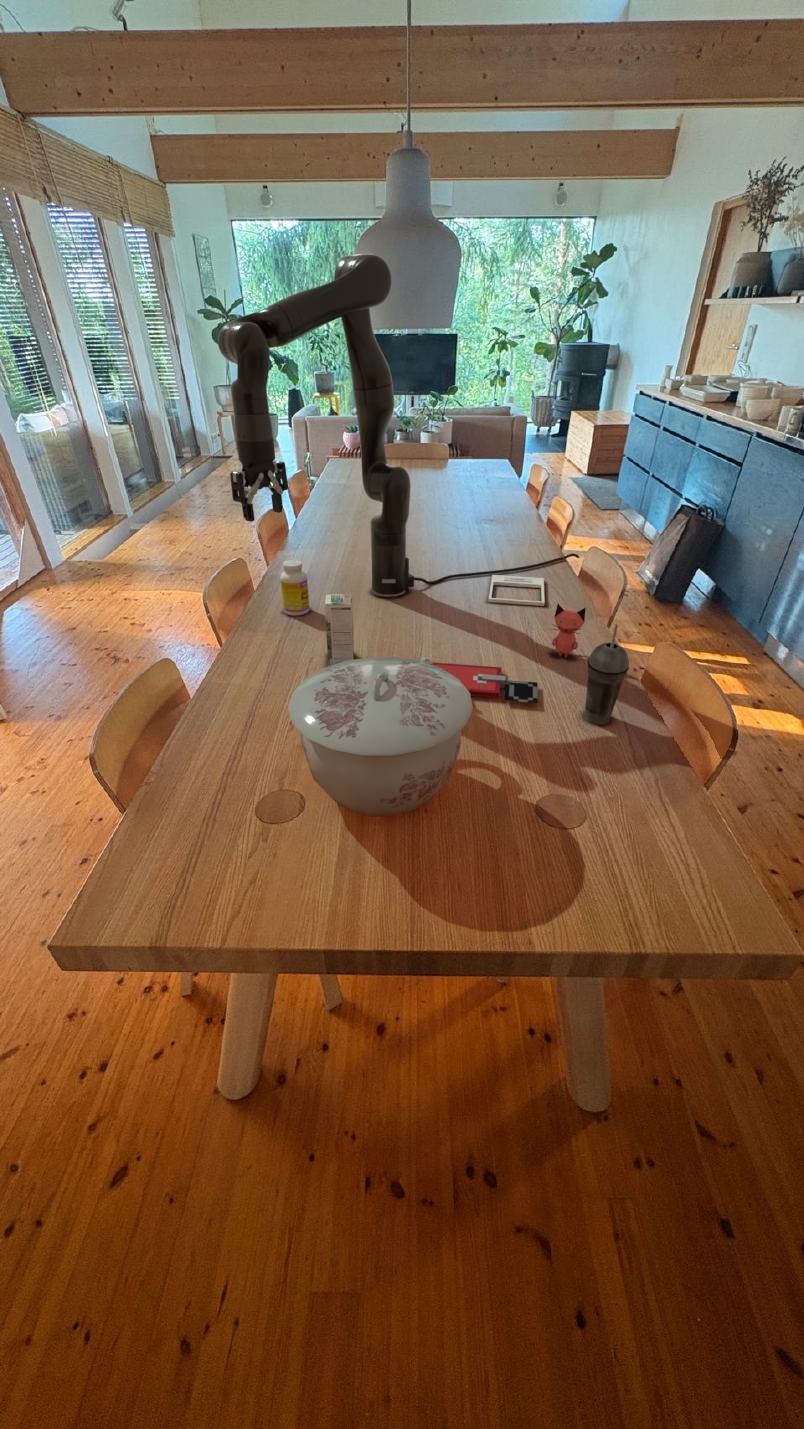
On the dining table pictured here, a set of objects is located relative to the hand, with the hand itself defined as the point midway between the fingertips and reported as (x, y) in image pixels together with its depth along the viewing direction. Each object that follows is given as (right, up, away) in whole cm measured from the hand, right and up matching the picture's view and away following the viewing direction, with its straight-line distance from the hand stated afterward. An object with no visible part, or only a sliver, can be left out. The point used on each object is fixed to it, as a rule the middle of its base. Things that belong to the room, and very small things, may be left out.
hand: (264, 516), depth 137 cm
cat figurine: (+67, -30, +4) cm, 73 cm away
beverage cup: (+68, -44, -18) cm, 83 cm away
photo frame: (+62, -10, +35) cm, 72 cm away
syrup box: (+17, -32, +2) cm, 36 cm away
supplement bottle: (+3, -17, +24) cm, 30 cm away
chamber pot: (+27, -55, -35) cm, 71 cm away
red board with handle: (+43, -38, -8) cm, 58 cm away
